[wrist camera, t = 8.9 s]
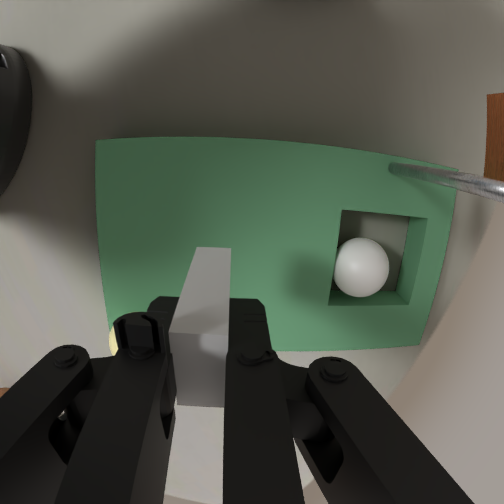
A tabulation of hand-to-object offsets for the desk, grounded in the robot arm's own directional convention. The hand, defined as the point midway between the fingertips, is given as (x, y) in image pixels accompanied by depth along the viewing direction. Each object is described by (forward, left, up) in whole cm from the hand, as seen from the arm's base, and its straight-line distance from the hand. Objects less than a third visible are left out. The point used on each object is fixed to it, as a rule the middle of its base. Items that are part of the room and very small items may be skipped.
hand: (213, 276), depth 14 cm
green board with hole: (+4, -1, -8) cm, 9 cm away
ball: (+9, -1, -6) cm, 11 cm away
